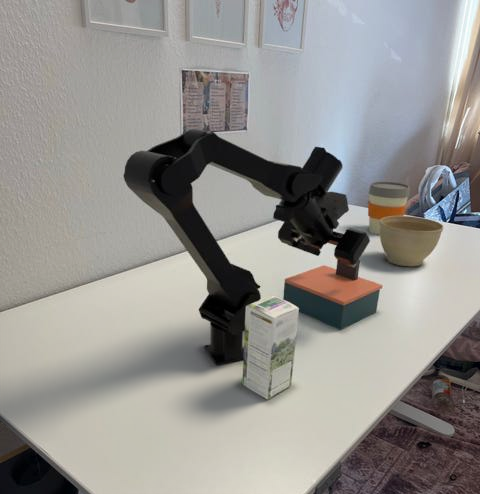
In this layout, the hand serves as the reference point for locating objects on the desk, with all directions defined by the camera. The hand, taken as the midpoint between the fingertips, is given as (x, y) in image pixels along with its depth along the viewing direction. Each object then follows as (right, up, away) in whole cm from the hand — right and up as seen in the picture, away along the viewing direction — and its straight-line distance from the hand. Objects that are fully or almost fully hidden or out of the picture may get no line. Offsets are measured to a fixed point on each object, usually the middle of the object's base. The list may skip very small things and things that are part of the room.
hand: (336, 259), depth 99 cm
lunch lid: (0, -5, +2) cm, 6 cm away
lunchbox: (-1, -10, +5) cm, 11 cm away
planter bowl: (+25, +4, +33) cm, 42 cm away
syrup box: (-16, -23, -22) cm, 36 cm away
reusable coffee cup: (+27, +17, +60) cm, 68 cm away
